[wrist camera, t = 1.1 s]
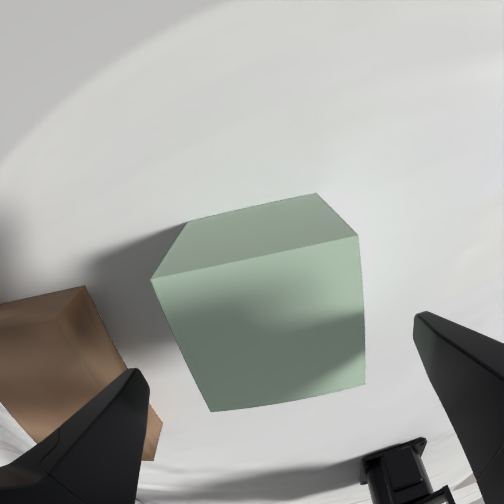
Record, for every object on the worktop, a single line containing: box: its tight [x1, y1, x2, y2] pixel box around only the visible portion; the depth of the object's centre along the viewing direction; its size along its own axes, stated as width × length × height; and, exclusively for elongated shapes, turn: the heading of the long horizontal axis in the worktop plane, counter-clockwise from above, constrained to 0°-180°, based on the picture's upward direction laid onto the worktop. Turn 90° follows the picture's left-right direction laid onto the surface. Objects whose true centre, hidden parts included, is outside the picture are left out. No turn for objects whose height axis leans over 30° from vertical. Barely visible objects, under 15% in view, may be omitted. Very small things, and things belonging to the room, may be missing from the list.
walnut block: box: [0, 285, 163, 461], centre depth 17 cm, size 12×12×4 cm
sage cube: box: [150, 193, 365, 412], centre depth 12 cm, size 6×6×6 cm
